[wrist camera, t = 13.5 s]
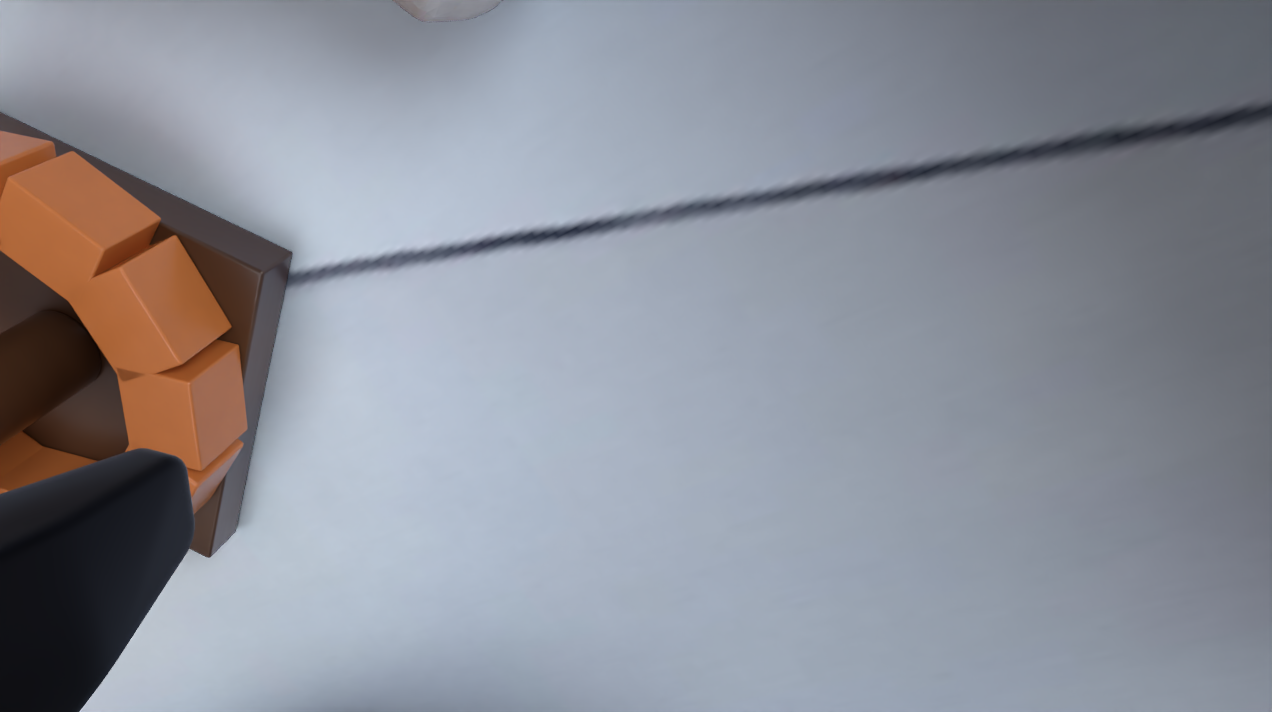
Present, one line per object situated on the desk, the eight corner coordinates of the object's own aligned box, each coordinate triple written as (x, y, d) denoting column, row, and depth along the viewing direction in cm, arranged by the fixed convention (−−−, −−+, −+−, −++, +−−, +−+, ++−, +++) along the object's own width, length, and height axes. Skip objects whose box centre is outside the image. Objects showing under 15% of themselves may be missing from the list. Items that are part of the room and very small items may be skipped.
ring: (262, 559, 27) (219, 606, 25) (-77, 464, 28) (-137, 503, 27) (222, 175, 21) (165, 205, 20) (-188, 90, 23) (-269, 111, 22)
